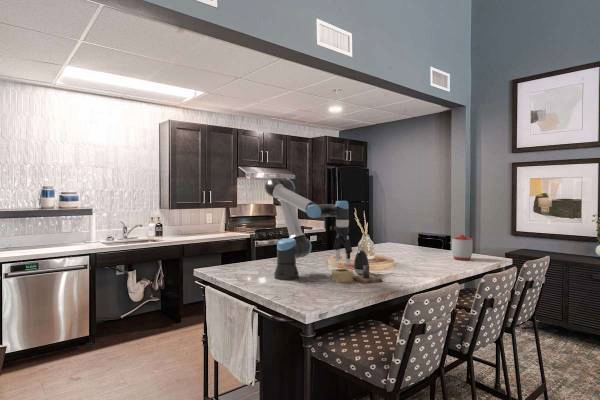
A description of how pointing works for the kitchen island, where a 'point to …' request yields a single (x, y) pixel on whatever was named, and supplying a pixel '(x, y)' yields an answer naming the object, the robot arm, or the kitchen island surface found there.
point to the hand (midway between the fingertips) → (342, 262)
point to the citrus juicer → (462, 247)
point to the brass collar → (342, 275)
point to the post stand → (366, 277)
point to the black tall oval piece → (360, 262)
